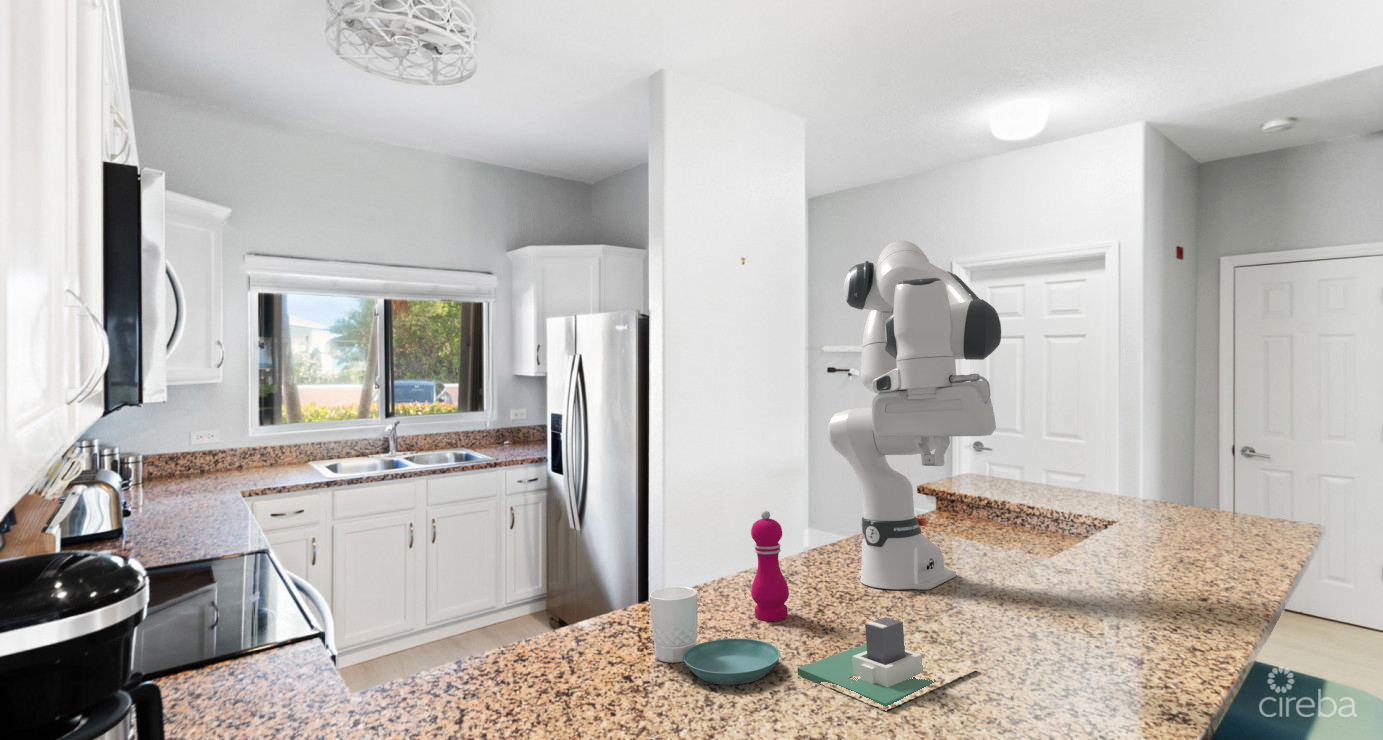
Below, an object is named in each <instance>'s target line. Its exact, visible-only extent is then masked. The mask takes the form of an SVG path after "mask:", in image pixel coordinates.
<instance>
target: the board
mask: <svg viewBox="0 0 1383 740" xmlns="http://www.w3.org/2000/svg"><path fill="white" fill-rule="evenodd" d="M796 669H797V676H799V677H802V678H804V679H807V680H809V681H812V682H814V683H816V684H818V683H821V682H828V683H832V684H836V685H839V686H841V687H844V688H846V689H848V690H851V691H854V692H856V693H858V694H860V695H862V696H864V697H866V698H869V699H871V700H873V701H875V702H877V703H879V704H881V705H883V706H885V707H886V706H888V705H891V704H893V703H894V702H897V701H899V700H901V699H903V698H904V697H906V696H908V695H910V694H912V693H914V692H916V691H918V690H920V689H922V688H924V687H926V686H928V685H930V684H932V683H934V682H936V680H935V679H934V682H933V681H932V680H930V679H929V681H928V680H925V679H924V681H923V680H922V679H921V680H920V679H919V680H918V679H916V678H915V677H913V676H916V675H918V674H920V673H922V672H923V665H922V654H918V653H915V652H912V651H909V650H906V649H905V658H903V659H900V660H898V661H895V662H893V663H890V664H887V665H884V664H881V663H878V662H875V661H872V660H869V659H867V645H866V643H865V644H862V645H859V646H856V647H854V648H849V649H847V650H845V651H841V652H839V653H836V654H833V655H831V656H827V657H825V658H822V659H819V660H817V661H816V660H815V661H813V662H811V663H807V664H805V665H802V666H799V667H797V668H796ZM853 676H860V677H861V679H858V678H857V679H858V680H857V679H856V678H855V677H854V678H855V679H856V680H857V681H858V682H857V681H856V680H855V679H854V678H853ZM848 677H852V678H853V679H854V680H853V679H850V678H848ZM912 677H913V679H912ZM910 678H911V679H910ZM908 679H909V680H908ZM851 682H852V683H851ZM867 682H868V683H867Z"/></svg>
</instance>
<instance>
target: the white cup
mask: <svg viewBox="0 0 1383 740" xmlns="http://www.w3.org/2000/svg"><path fill="white" fill-rule="evenodd" d="M649 605H650V618H651V627H652V628H651V629H652V637H653V641H654V655H655V658H656V659H657V660H658V661H660V662H663V663H673V664H674V663H683V662H684V659H683V656H684V653H685V652H686V651H687V650H688V649H690V648H692V647H693V646H696V645H698V643H697V642H698V641H697V638H698V624H699V623H698V590H697V589H695V588H693V587H687V586H671V587H663V588H658V589H655V590H653V591H651V592H650V593H649ZM684 663H685V662H684Z"/></svg>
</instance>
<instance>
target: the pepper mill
mask: <svg viewBox="0 0 1383 740" xmlns="http://www.w3.org/2000/svg"><path fill="white" fill-rule="evenodd" d="M760 516H761V518H760V519H757V520H756V521H754V523H753V524H752V526H751V529H750V534H751V538H752V539H753V541H754V542H755V544H754V546H753V547H754V552H755V553H756V556H757V571H756V573H755V576H754V579H753V582H752V585H751V591H750V592H751V593H750V594H751V595H750V596H751V598H752V600H753V601H754V602H755V604H756V605H755V606H754V617H755V618H756V619H757V620H760V621H765V622H777V621H782V620H786V619H787V617H789V616H788V615H789V614H788V613H789V611H788V606H787V605H786V604H785V603H787V601H788V599H789V597H790V590H789V585H788V583H787V580H786V579H785V577H784V575H783V572H782V571H781V567H780V562H779V554H780V552H781V544H780V540H781V539H782V537H783V530H782V529H783V528H782V526H781V524H780V523H779V522H778V521H777V520H775V519H773V518H771V513H770V511H768V510H763V511H761V513H760Z"/></svg>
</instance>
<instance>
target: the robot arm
mask: <svg viewBox="0 0 1383 740" xmlns="http://www.w3.org/2000/svg"><path fill="white" fill-rule="evenodd" d="M843 295H844V296H845V299H846V304H847V305H848V306H849V307H851V308H854V309H856V310H857V309H858V310H861V311H862V310H864V309H865V310H869V311H870V312H869V313H868V314H867V317H866V322H865V325H864V330H863V336H862V341H861V354H860V355H861V361H860V362H861V363H860V375H859V376H860V380H861V382H862V384H863V386H864V387H865V388H866V389H868V390H869V391H871V392H873V393H875V395H874V396H873V398H872V401H871V407H854V408H849V409H846V410H842V411H837V412H836V413H834V414H833V415H832V417H831V418H830V420H829V423H828V425H827V437H828V440H829V443H830V444H831V446H832V448H833V449H834V450H835V452H837V453H838V454H840V455H841V456H842V457H843V458H844V459H846V461H847V462H848V463H849V465H850V466H851V467H852V470H853V471H854V472H855V475H856V477H857V480H858V484H859V488H860V495H861V502H862V503H861V504H862V513H863V517H861V533H862V534H863V536H864V537H863V539H862V541H861V563H860V564H861V566H860V567H861V569H860V570H858V576H859V575H860V576H861V577H860V576H859V577H860V578H859V581H860V583H862V584H863V585H866V586H869V587H872V588H878V589H886V590H931V589H933V588H935V587H937V586H939V585H942V584H943V583H945V582H948V581H949V580H951V579H953V578H955V577H957V573H956V571H955V570H954V569H950V568H947V567H945V562H944V561H945V560H944V555H943V552H942V550H941V548H940V547H939V546H937V544H935V543H933V542H932V541H931V540H930V539H928V538H927V537H926V536H925V535H924V534H923V533H922V529H921V527H927V526H928V524H929V520H928V519H927V517H925V516H923V517H921V516H917V517H916V516H915V504H914V503H915V502H914V489H913V484H912V482H911V481H910V479H908V477H907V476H905V475H904V474H903V473H900V472H899V471H896V470H895V469H893V468H892V467H891V466H890V465H889V463H888V461H887V459H886V458H887V457H886V456H913V455H920V458H921V465H922V466H923V467H943V466H944V465H945V455H946V452H947V450H948V448H949V446H950V441H951V440H950V437H986V436H991V435H993V434H994V432H995V430H996V429H997V428H996V427H997V424H996V418H995V417H996V416H995V412H994V407H993V403H992V400H991V395H992V394H991V384H990V382H989V380H988V379H987V378H986V377H984V376H981V375H980V373H970V374H957V367H956V360H966V361H967V360H969V361H971V360H975V361H976V360H978V361H981V360H985V359H986V358H987V357H989V356H990V355H991V354H992V353H993V352H994V351H996V350H997V349H998V347H999V346H1000V344H1001V341H1002V340H1001V339H1002V325H1001V324H1002V323H1001V320H1000V317H999V314H998V312H997V310H996V309H995V308H994V306H992V305H991V304H990V303H989V302H988V301H986V300H984V299H981V298H980V297H978V295H977V294H976V293H975V292H974V291H973V290H972V289H971V288H970V287H969V286H968V284H966V283H965V282H964V281H963V280H962V278H961V277H959V276H958V275H957V274H955V273H953V272H950V271H946V270H945V269H943V268H940V267H937V266H936V265H934V264H933V263H931V262H930V260H929V258H928V256H927V255H926V254H925V252H924V251H923V250H922V249H921V248H920V247H919V246H918V245H917V244H916V243H914V242H911V241H909V240H896V241H895V240H894V241H893V242H891V243H889V244H887V245H886V246H885V247H884V248H883V249H882V250H881V252H880V253H879V256H878V258H877V262H869V260H866V261H864V262H862V263H858V264H855V265H854V266H852V267H851V268H849V270H848V272H847V274H846V276H845V279H844V283H843ZM932 451H934V452H933V453H932Z"/></svg>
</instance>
